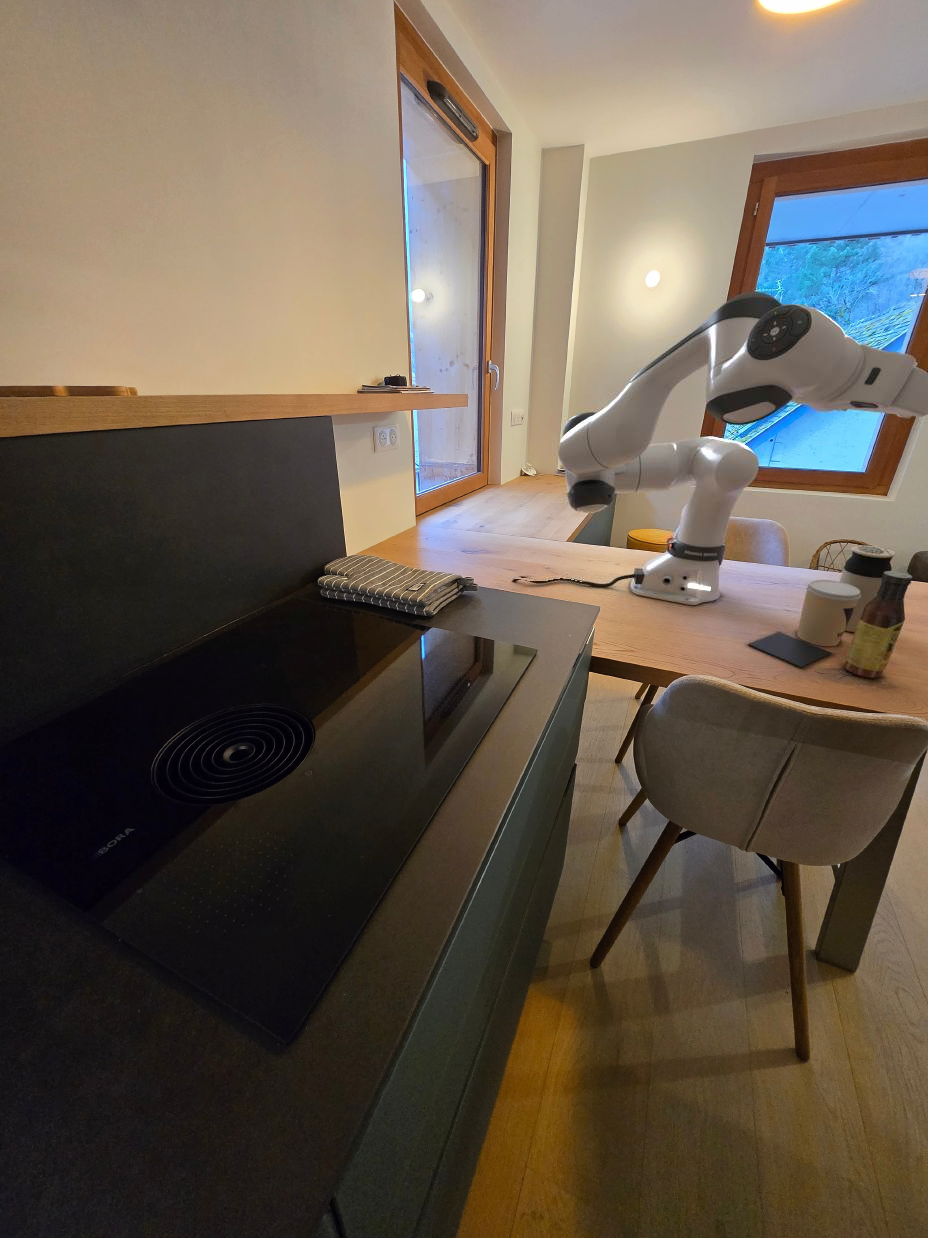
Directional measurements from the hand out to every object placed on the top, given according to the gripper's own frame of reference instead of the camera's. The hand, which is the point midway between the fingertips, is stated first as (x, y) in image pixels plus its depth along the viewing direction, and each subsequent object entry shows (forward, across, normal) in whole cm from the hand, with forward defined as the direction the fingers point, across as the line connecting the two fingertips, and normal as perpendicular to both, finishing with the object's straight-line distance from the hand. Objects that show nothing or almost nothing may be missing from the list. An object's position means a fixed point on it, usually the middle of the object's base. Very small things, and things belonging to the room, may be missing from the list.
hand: (875, 409), depth 78 cm
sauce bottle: (+24, +10, -41) cm, 49 cm away
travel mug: (+41, -3, -35) cm, 54 cm away
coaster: (+20, -1, -43) cm, 47 cm away
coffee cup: (+30, -2, -39) cm, 50 cm away
